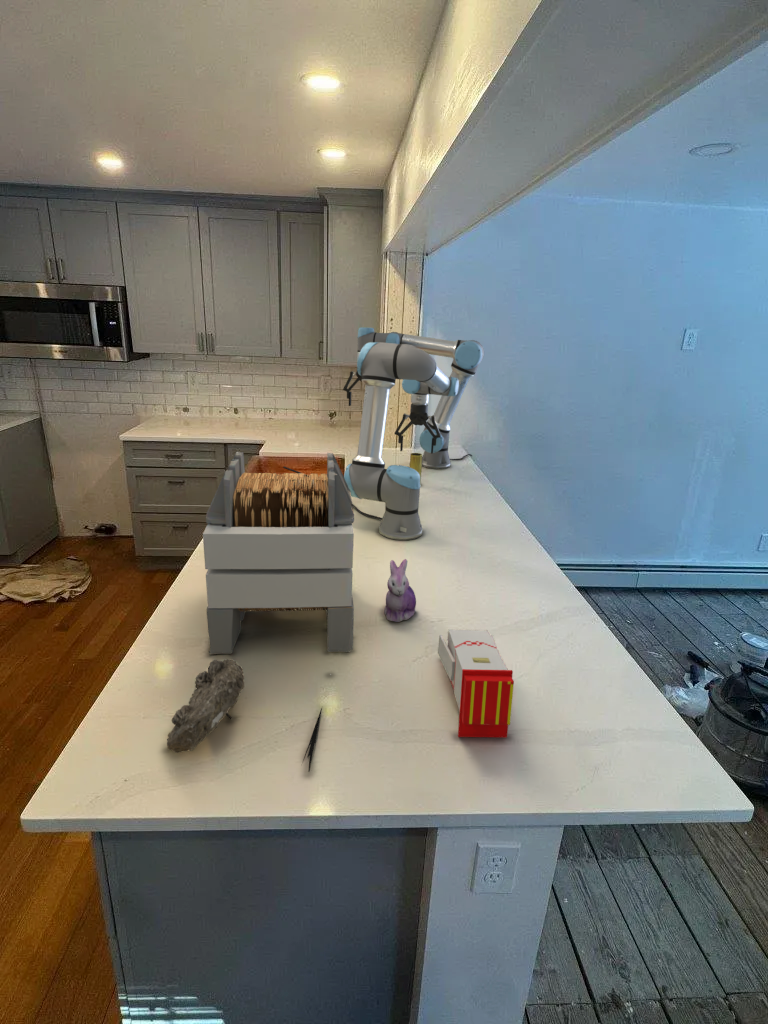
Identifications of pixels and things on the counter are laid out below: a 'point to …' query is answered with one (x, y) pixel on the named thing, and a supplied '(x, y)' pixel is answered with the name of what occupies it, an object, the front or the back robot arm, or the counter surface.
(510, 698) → the toy
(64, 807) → the counter surface
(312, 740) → the feather
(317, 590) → the record storage crate
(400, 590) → the figurine
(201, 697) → the fossil
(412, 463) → the olive drinking cup
